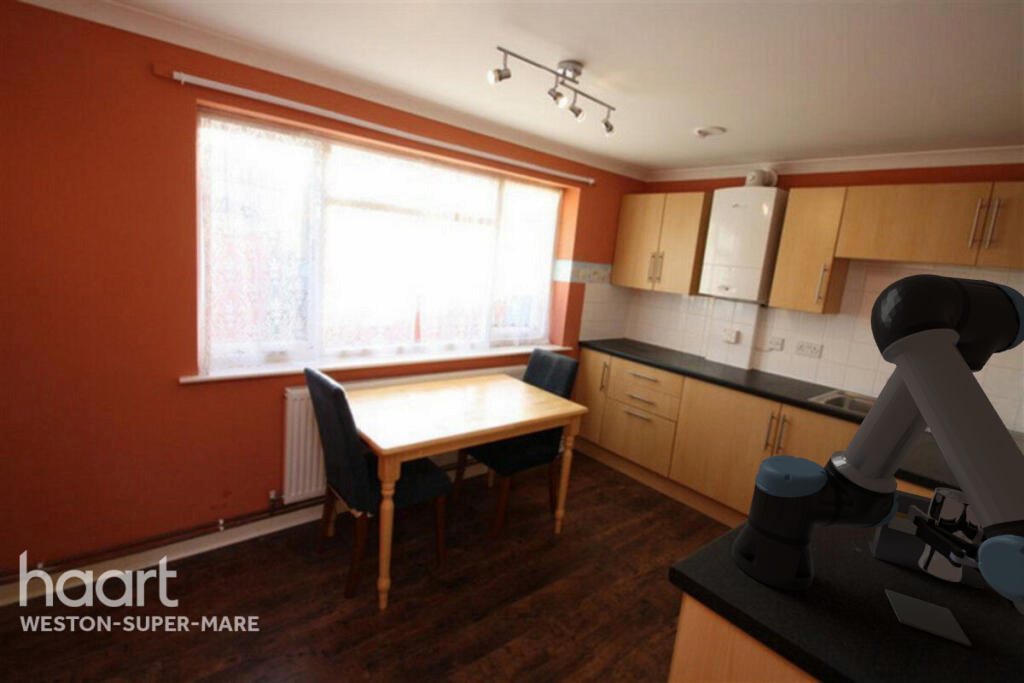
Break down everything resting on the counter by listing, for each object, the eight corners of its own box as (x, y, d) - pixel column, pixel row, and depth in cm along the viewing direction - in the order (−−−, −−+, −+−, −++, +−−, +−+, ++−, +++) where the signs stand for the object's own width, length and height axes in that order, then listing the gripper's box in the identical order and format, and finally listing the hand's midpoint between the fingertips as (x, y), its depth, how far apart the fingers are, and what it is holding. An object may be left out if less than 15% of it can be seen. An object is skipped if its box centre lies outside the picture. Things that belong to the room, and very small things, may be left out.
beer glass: (906, 556, 91) (925, 483, 89) (949, 565, 89) (969, 491, 87) (927, 577, 84) (948, 500, 82) (974, 588, 83) (996, 509, 80)
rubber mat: (899, 622, 86) (900, 620, 86) (884, 591, 95) (885, 588, 95) (970, 646, 82) (971, 644, 82) (948, 611, 91) (948, 609, 91)
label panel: (874, 558, 107) (891, 493, 104) (868, 545, 112) (884, 483, 109) (984, 591, 99) (1005, 521, 96) (971, 575, 104) (991, 509, 101)
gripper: (955, 601, 70) (871, 522, 93) (1112, 633, 67) (985, 543, 89) (968, 556, 69) (879, 487, 91) (1129, 586, 66) (996, 507, 88)
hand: (932, 515), depth 90 cm, fingers closed on beer glass, 7 cm apart
